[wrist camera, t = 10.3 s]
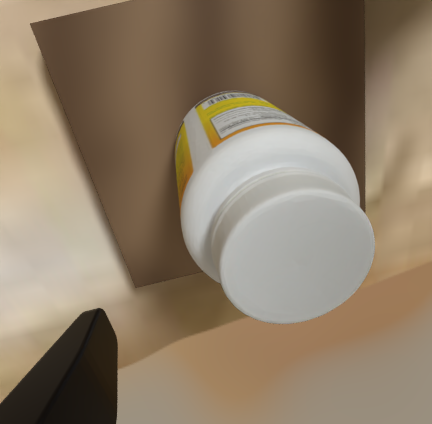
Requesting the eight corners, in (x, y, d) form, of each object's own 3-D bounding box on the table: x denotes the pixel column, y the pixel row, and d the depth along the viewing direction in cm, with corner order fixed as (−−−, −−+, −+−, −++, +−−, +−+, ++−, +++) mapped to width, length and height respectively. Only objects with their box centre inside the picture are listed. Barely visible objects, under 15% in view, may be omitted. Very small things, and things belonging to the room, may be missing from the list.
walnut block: (342, -44, 16) (364, -54, 15) (350, 216, 23) (365, 231, 21) (44, 24, 16) (29, 23, 14) (138, 267, 23) (135, 287, 21)
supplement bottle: (225, 216, 19) (277, 377, 10) (150, 145, 17) (132, 271, 8) (306, 147, 18) (445, 260, 9) (236, 60, 16) (330, 97, 7)
